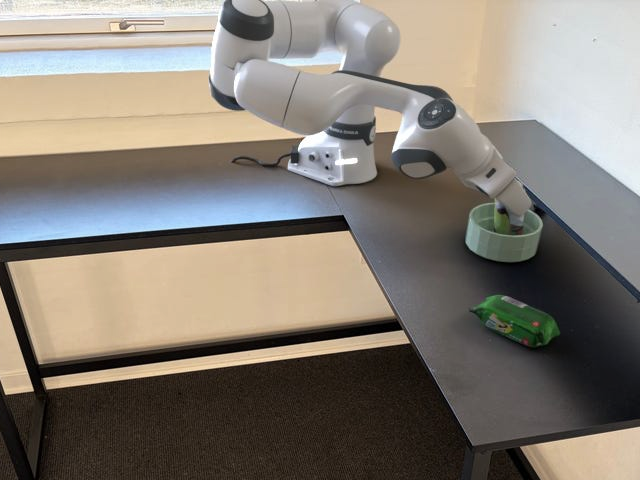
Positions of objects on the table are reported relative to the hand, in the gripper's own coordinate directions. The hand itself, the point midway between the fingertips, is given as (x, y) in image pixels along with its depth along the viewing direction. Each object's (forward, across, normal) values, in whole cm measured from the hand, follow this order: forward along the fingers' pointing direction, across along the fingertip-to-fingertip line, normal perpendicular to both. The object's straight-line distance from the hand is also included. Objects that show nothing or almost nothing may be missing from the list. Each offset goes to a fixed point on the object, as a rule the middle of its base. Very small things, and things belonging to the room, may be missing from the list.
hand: (510, 203), depth 151 cm
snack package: (-4, +28, -18) cm, 33 cm away
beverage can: (+4, +1, -6) cm, 7 cm away
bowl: (+7, 0, -7) cm, 10 cm away
